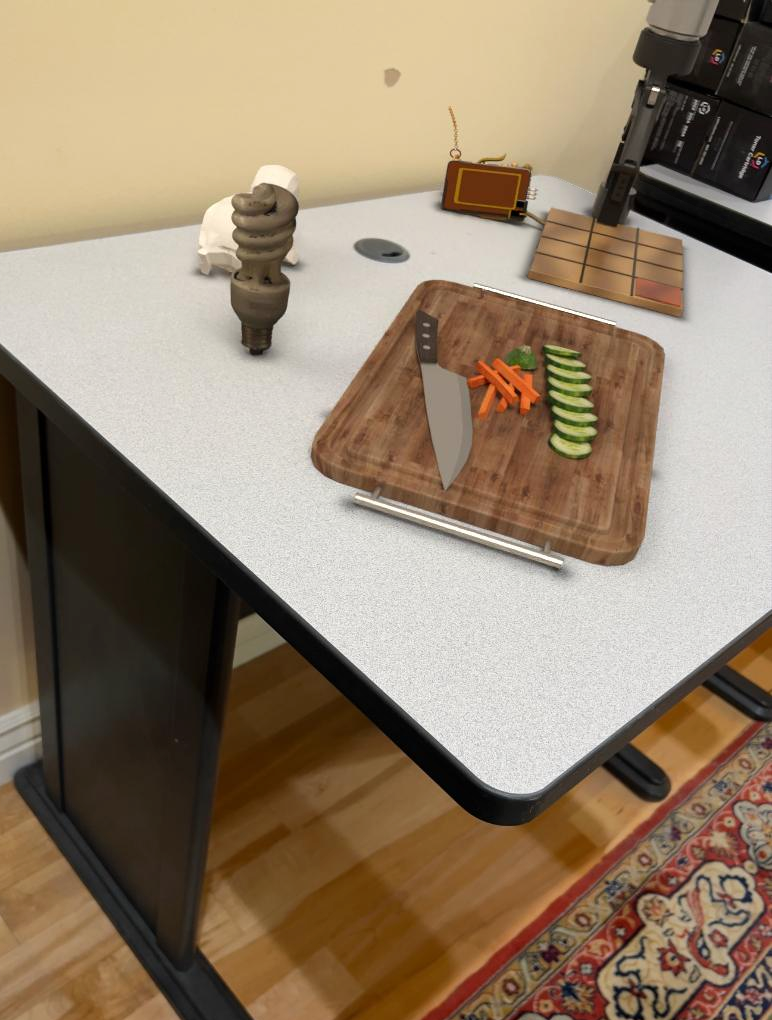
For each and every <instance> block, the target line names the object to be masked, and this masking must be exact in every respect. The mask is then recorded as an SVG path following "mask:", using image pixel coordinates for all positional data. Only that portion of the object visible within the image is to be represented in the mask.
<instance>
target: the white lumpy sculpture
mask: <svg viewBox="0 0 772 1020" xmlns="http://www.w3.org/2000/svg"><path fill="white" fill-rule="evenodd" d="M299 182H300V181H299V178H298V176H297V173H295V172H294V171H293V170H291V169H290V168H287V167H286V166H284V165H280V164H264V165H262V166H260V167H259V169H258V171H257V172H256V174H255V176H254V178H253V181H252V182H251V184H250V186H249V191H247V192H246V191H245V193H251V194H252V193H253V189H254V187H255V186H258V185H259V184H261V183H268V184H274V185H278V186H280V187H283V188H285V189H287V190H288V191H290V192H291V193H292V194H293V195H294V196H295V198H296V199H297V201H298V202H299V200H300V199H299V198H300V183H299ZM239 193H240V192H238V193H234V194H233V195H231V196H226V197H223V198H222V200H219V201H217V202H215V203H213V204H212V205H211V206H210V207H208V208H207V209H206V211H205V213H204V215H203V218H202V223H201V226H200V232H199V237H198V250H197V254H198V257H199V259H200V261H199V265H198V266H199V268H200V273H201V274H204V275H207V276H209V275H210V271H211V268H212V267H216V268H221V269H224V270H225V271H227V272H230V273H231V274H232V273H233V272H234V271H235V270H236V269H239V268H241V267H242V263H241V261H240V260H238V258H237V257H236V250H237V249H238V244H237V243H236V242H235V241H234V240H233V238H232V233H233V231H234V229H235V228H236V226H235V225H234V224H233V222H232V219H231V216H232V213H233V212H234V210H235V209H234V208H233V206H232V204H231V200H232V197H233V196H234V195H236V194H239ZM299 259H300V256H299V253H298V252H297V250H296V248H295V246H294V245H293V246H292V248H291V250H290V251H289V252H288V254H287V256H286V257H285V258H284V260H283V262H286V263H288V264H290V265H292V266H296V264H297V263H298V261H299Z"/></svg>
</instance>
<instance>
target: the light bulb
mask: <svg viewBox="0 0 772 1020" xmlns="http://www.w3.org/2000/svg"><path fill="white" fill-rule="evenodd" d="M238 193H239V194H237V193H235V194H236V195H235V194H233V195H234V196H233V195H232V196H233V197H232V200H231V204H232V206H233V208H234V209H235V210H234V212H233V213H232V216H231V219H232V222H233V224H234V225H235V226H236V228H235V229H234V231H233V233H232V238H233V240H234V241H235V242H236V243H237V244H238V249H237V250H236V257H237V258H238V260H240V261H241V263H242V267H241V268H239V269H236V270H235V271H234V272H233V273H232V272H231V275H230V283H229V284H230V285H229V286H230V287H229V288H230V294H229V295H230V305H231V309H232V310H233V312H234V313H235V315H236V316H237V318H238V321H240V330H241V340H240V344H241V345H242V346H243V347H244V348H246V349H248V351H249V354H250V355H252V356H262V355H263V354H264V352H265V351H269V349H271V347H272V344H273V341H272V340H273V331H274V326H275V325H276V324H277V323H278V322H279V321H280V320H281V319H282V318H283V317H284V316H285V314H286V312H287V309H288V305H289V297H290V292H291V280H290V278H289V277H288V276H287V275H286V274H285V273H283V272H282V264H283V262H284V258H285V257H286V256H287V254H288V252H289V251H290V250H291V248H292V246H294V236H293V235H294V233H295V232H296V229H297V219H296V218H297V216H298V214H299V208H300V204H299V200H298V201H297V199H296V198H295V196H294V195H293V194H292V193H291V192H290V191H288V190H287V189H285V188H283V187H280V186H278V185H274V184H268V183H261V184H259V185H258V186H255V187H254V189H253V193H252V194H251V193H246V192H238Z"/></svg>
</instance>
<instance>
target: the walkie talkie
mask: <svg viewBox="0 0 772 1020" xmlns="http://www.w3.org/2000/svg"><path fill="white" fill-rule="evenodd" d="M448 111H449V114H450V117H451V119H452V123H453V125H452V126H453V127H454V129H453V132H454V134H453V137H454V139H453V141H454V148H451V150H450V151H449V156H450V157H451V158H452V160H449V161H448V162H447V165H446V170H445V171H446V172H445V178H444V183H443V184H444V185H443V188H442V196H441V201H440V202H441V203H440V207H441V209H442V210H445V211H450V212H455V213H458V214H464V215H467V216H468V215H469V216H476V217H477V216H478V217H479V218H480V219H486V220H487V219H489V220H497V221H505V220H508V221H511V222H518V223H519V222H520V223H524V222H525V220H526V218H527V217H528V218H530V219H531V220H533V221H535V222H537V223H538V224H539V225H541V226H545V224H547V223H546V221H544V220H543V219H542V218H539V217H538V216H536V215H534V214H533V213H532V212H530V211H529V210H528V205H529V200H533V201H535V200H536V199H538V198H537V197H536V196H537V195H539V194H538V193H537V192H538V191H539V189H537V188H535V187H531V182H532V181H531V180H532V177H533V175H532V171H533V169H534V168H533V166H531V164H530V163H526V164H524V165H523V166H519V163H518V162H511V163H510V166H509V164H508V163H501V164H496V163H495V164H494V163H488V162H497V163H498V162H502V161H504V160H505V159H506V157H507V153H504V154H503V155H502V156H500V157H482V158H480V159H478V161H476V162H473V161H468V160H467V161H466V160H462V159H461V157H462V151H461V150H460V149H458V148H459V145H458V142H459V141H458V139H457V138H458V134H457V133H458V124H457V121H456V117H455V114H454V111H453V109H452V107H451V105H449V106H448ZM453 151H454V152H459V154H458V153H455V155H452V152H453ZM486 162H487V163H486ZM547 225H548V224H547Z"/></svg>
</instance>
